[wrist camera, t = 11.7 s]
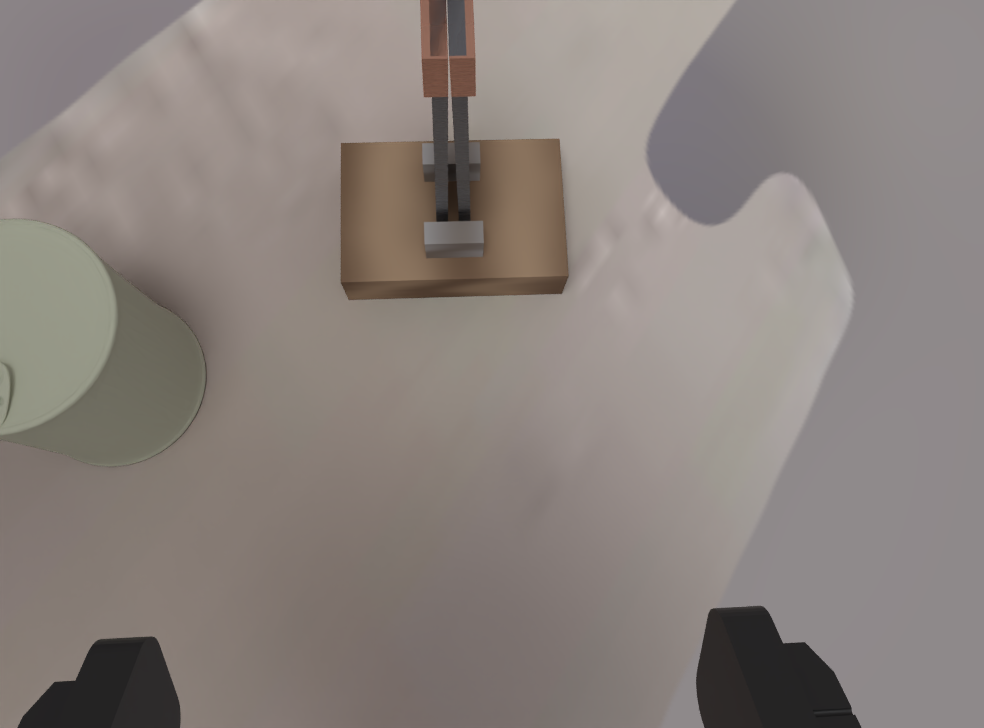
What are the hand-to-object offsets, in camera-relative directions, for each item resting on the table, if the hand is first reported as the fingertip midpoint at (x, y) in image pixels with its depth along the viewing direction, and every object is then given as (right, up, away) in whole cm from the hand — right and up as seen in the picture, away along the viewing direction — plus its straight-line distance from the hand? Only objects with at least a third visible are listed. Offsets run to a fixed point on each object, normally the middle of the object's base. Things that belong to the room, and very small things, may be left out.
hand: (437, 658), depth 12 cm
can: (-19, +3, +32) cm, 37 cm away
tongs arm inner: (-2, +13, +31) cm, 33 cm away
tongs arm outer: (-1, +13, +31) cm, 33 cm away
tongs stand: (-1, +12, +34) cm, 36 cm away
